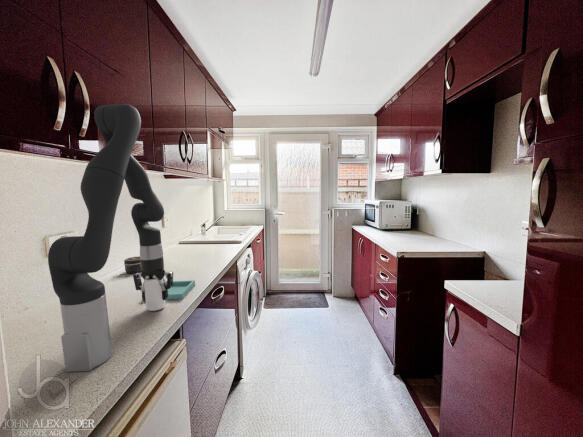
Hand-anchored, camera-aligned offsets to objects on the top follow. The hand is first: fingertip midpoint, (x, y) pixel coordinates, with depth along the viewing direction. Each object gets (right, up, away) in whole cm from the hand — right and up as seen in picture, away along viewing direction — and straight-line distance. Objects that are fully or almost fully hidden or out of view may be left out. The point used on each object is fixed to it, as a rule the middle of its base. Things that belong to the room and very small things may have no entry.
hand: (155, 299), depth 99 cm
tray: (-1, -2, +15) cm, 16 cm away
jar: (-35, +1, +47) cm, 59 cm away
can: (0, -3, 0) cm, 3 cm away
